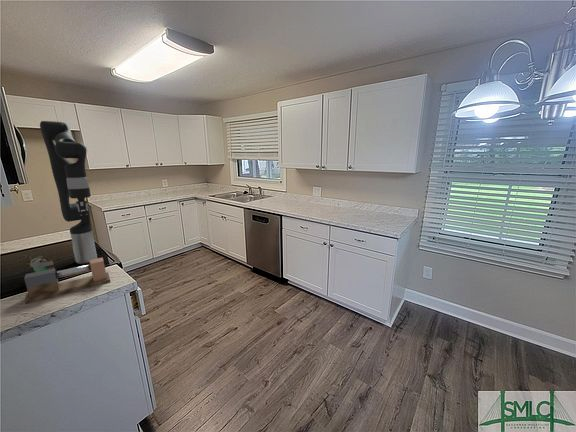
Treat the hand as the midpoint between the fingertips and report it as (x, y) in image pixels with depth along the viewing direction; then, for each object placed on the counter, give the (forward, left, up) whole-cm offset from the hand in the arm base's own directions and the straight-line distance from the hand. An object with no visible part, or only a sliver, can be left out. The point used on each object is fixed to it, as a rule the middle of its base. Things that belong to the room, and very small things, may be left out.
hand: (85, 221), depth 115 cm
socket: (+7, -3, -27) cm, 28 cm away
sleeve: (-4, -19, -22) cm, 30 cm away
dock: (+1, -12, -28) cm, 31 cm away
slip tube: (+2, -10, -22) cm, 25 cm away
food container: (-20, -10, -28) cm, 36 cm away
